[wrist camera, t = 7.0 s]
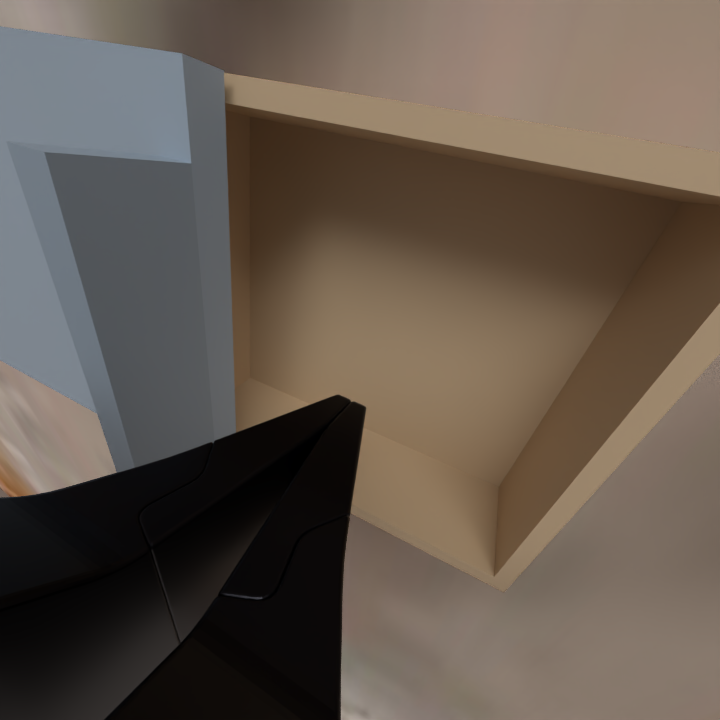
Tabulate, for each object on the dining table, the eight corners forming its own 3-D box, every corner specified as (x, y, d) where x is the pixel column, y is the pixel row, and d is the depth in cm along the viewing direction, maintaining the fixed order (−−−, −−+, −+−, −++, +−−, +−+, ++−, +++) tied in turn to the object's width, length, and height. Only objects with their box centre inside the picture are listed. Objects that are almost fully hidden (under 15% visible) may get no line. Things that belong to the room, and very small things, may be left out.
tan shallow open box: (714, 182, 9) (878, 177, 5) (506, 492, 16) (503, 592, 12) (245, 97, 13) (123, 56, 9) (247, 378, 20) (180, 425, 16)
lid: (224, 70, 8) (-6, -24, 4) (236, 461, 15) (156, 541, 12) (-132, 14, 12) (-399, -59, 8) (16, 345, 19) (-93, 380, 16)
